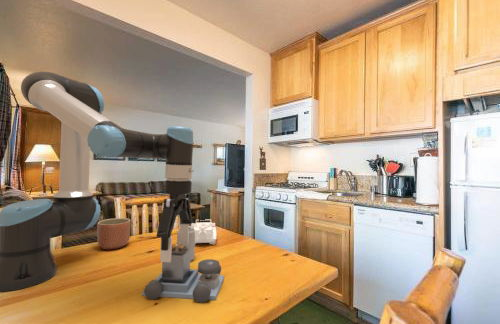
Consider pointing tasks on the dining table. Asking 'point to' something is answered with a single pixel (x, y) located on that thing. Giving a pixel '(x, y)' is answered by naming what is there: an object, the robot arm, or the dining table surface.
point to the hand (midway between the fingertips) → (175, 252)
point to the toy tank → (204, 232)
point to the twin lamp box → (177, 266)
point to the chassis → (187, 287)
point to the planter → (113, 233)
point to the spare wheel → (208, 267)
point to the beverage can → (191, 241)
